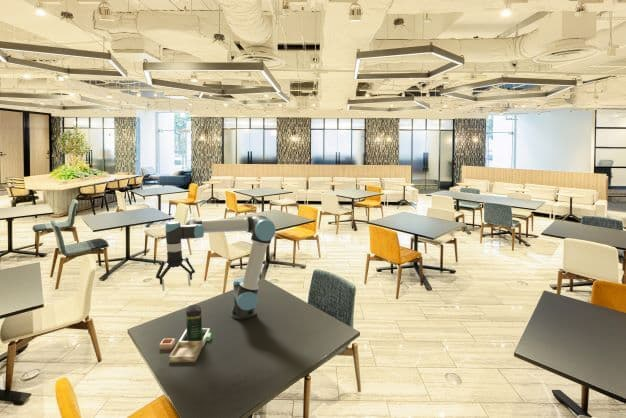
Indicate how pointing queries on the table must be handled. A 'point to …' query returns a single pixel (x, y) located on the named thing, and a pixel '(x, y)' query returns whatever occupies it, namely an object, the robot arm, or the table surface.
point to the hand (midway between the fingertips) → (176, 287)
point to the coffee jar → (194, 323)
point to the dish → (167, 344)
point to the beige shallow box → (186, 351)
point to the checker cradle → (204, 330)
